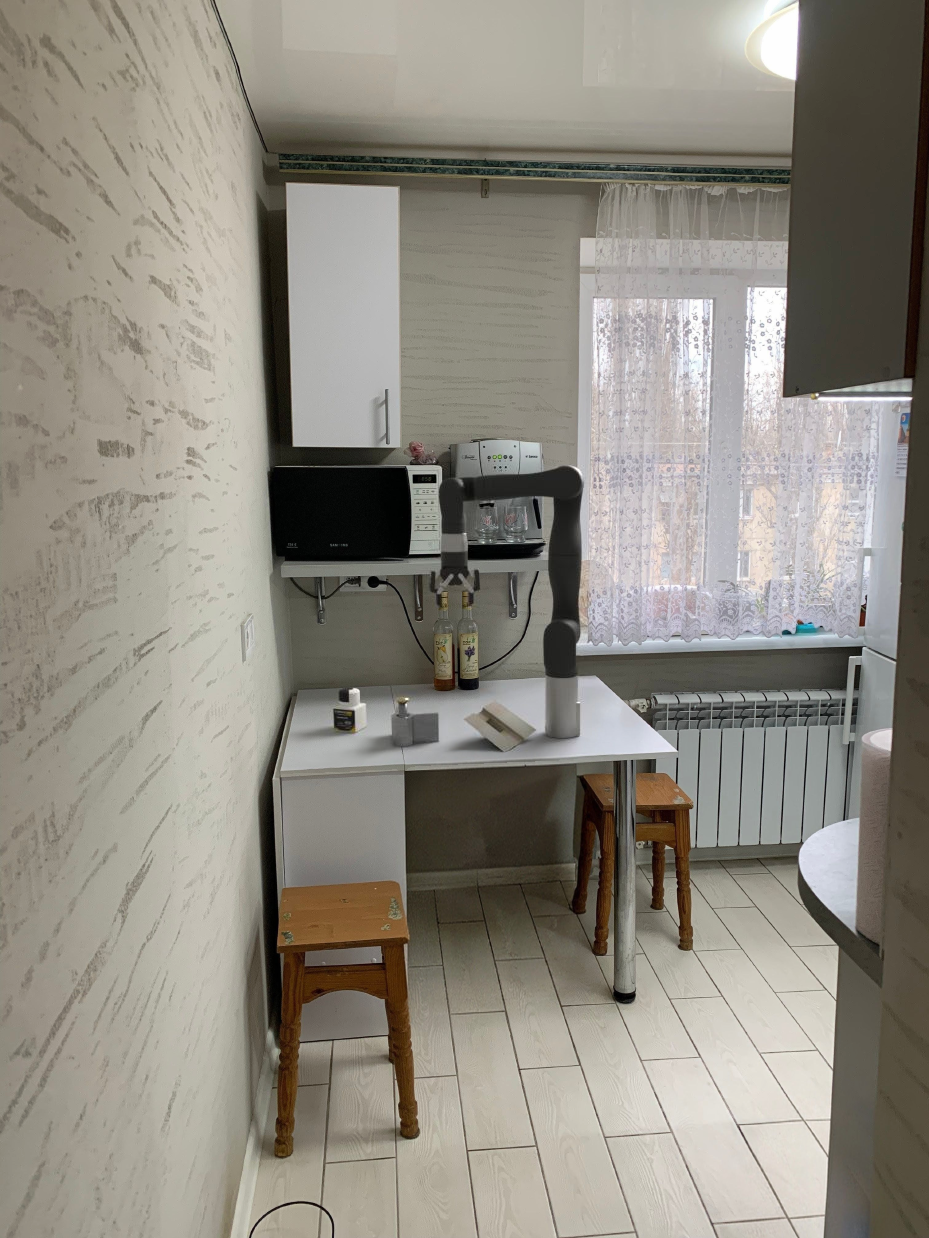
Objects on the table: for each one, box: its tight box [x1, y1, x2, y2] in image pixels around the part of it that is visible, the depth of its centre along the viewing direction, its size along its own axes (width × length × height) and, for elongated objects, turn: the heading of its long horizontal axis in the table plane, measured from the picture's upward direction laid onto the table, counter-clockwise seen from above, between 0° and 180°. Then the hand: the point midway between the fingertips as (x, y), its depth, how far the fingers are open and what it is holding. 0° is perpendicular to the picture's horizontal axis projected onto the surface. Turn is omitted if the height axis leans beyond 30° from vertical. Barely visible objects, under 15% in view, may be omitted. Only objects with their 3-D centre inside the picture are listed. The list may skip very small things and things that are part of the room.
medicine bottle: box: [332, 687, 367, 734], centre depth 266 cm, size 7×7×12 cm
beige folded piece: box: [463, 700, 537, 753], centre depth 255 cm, size 16×9×15 cm
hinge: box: [390, 705, 440, 748], centre depth 256 cm, size 13×13×8 cm
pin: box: [395, 696, 410, 717], centre depth 251 cm, size 3×3×13 cm
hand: (454, 606), depth 260 cm, fingers open, 8 cm apart
